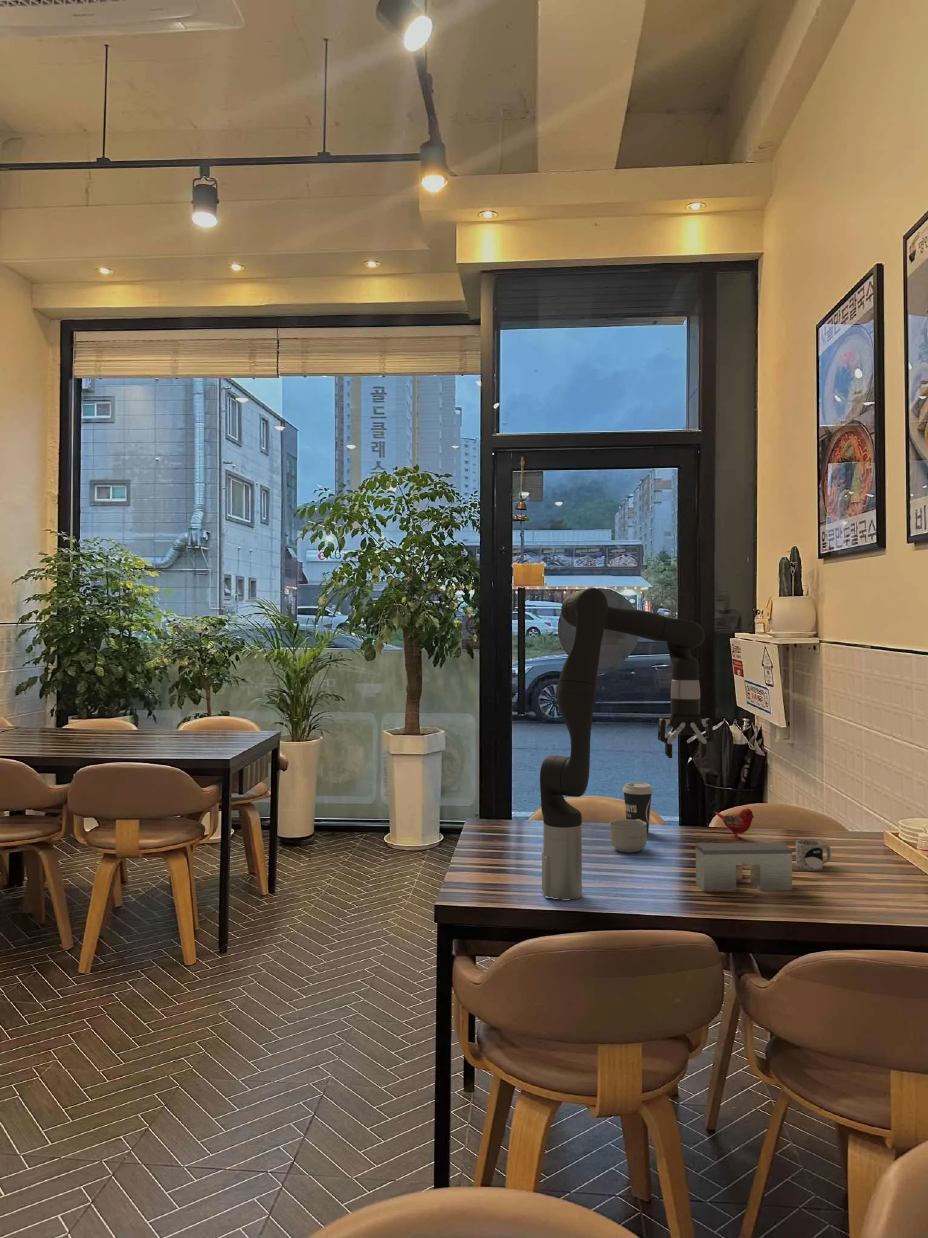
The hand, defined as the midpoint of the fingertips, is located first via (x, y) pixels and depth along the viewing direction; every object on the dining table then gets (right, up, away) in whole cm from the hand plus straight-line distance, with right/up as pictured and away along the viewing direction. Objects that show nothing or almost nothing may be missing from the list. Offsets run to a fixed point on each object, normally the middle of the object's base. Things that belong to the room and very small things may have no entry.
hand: (685, 757), depth 215 cm
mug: (+36, -30, +3) cm, 47 cm away
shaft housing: (+11, -30, -14) cm, 35 cm away
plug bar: (+10, -30, +2) cm, 32 cm away
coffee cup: (-4, -31, +40) cm, 51 cm away
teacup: (-10, -31, +21) cm, 38 cm away
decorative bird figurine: (+24, -31, +35) cm, 52 cm away
